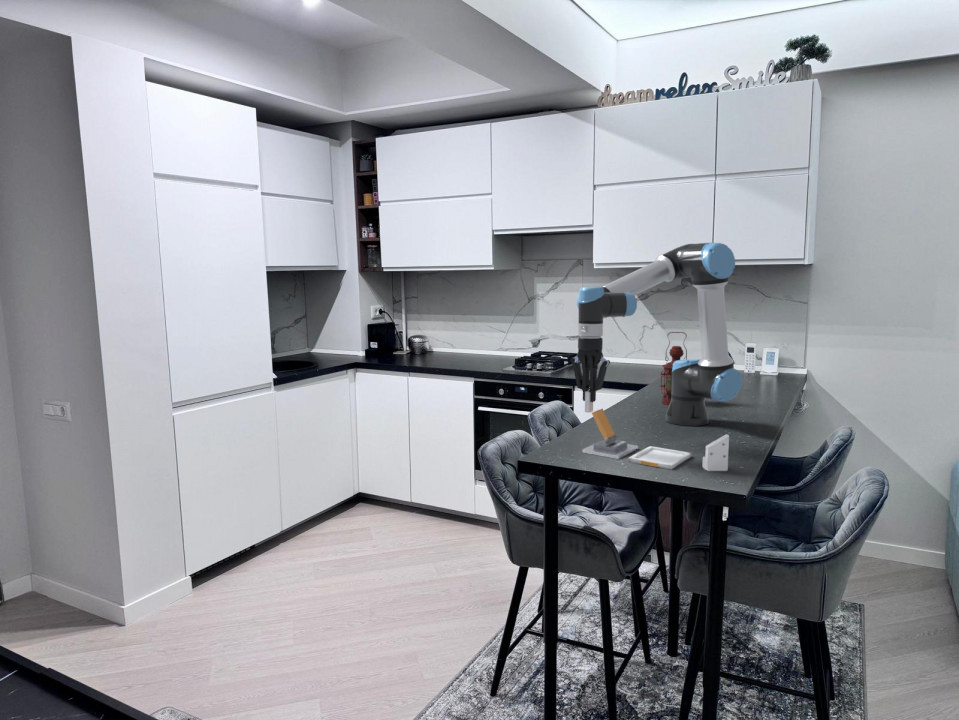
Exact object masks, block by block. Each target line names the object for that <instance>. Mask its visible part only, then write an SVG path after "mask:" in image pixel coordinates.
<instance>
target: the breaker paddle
mask: <svg viewBox="0 0 959 720" xmlns="http://www.w3.org/2000/svg"><path fill="white" fill-rule="evenodd" d="M591 415H592V417H593V420H594V421H595V423H596V426H597V427H598V430H599V431H600V434H601V436H602V438H603V440H604V442H605V443H606V444H609V443H611V442H613V441H615V440H618V437H617V435H616V433H615V431H614V430H613V428H612V425H611V423H610V421H609V419H608V417H607V414H606V413H605V411H604V409H603V408H600V409H597V410H594V411H592V412H591Z"/></svg>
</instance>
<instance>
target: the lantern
mask: <svg viewBox="0 0 959 720" xmlns="http://www.w3.org/2000/svg"><path fill="white" fill-rule="evenodd" d="M670 334H684V335H685V336H684V337H685V338H684V340H683V342H682V343H683V347H684V349H685V353H684V350H683V348H682V346H680V345H672V346H671V348H670V350H669V352H668V353H669V356H670V357H671V361H669V357H668V355H667V351H668V349H669V347H670V345H671V340H670V338H669V335H670ZM666 336H667V340H668V346H667V347H666V350H665V357H664V359H665V361H666V363H665V364H662V368H663V370H662V371H661V372H660V387H659V389H660V393H661V394H662V400H661V404H663V405H666V406H669V405H670V402H671V393H672V368H673V363H674V362H675V361H677V360H681V358H682V357H683V356H684V354H685V357H684V358H683V360H688V349H687V348H686V346H685V341H686V339H687V336H688V335H687V333H685V332H683V331H670V332H669V333H668V334H667V335H666ZM662 382H663V384H662ZM663 391H664V393H663Z"/></svg>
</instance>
